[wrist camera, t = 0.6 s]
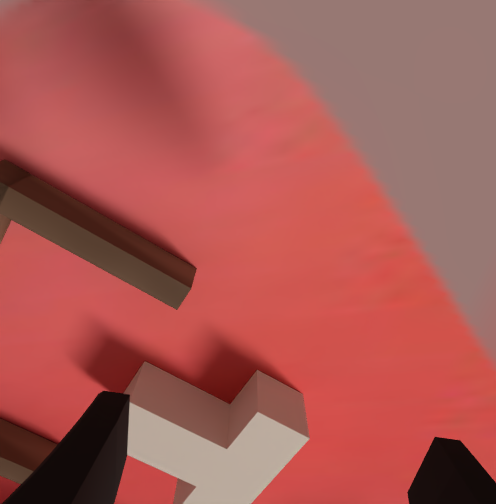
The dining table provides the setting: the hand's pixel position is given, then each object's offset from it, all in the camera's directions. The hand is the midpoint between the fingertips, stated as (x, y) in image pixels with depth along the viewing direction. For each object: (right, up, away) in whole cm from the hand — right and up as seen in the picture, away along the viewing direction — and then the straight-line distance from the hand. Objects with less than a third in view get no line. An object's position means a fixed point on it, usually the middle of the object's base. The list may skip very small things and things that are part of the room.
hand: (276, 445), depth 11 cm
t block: (-3, -4, +13) cm, 14 cm away
